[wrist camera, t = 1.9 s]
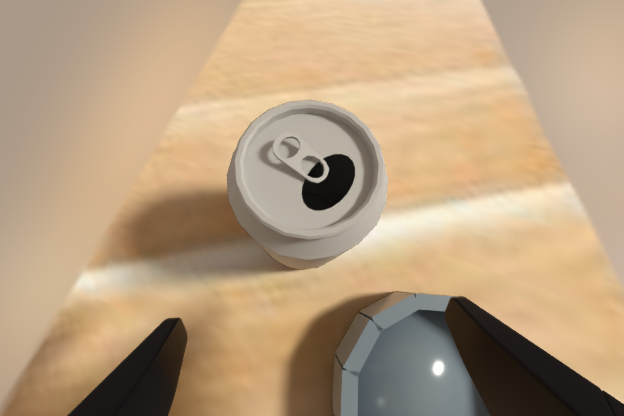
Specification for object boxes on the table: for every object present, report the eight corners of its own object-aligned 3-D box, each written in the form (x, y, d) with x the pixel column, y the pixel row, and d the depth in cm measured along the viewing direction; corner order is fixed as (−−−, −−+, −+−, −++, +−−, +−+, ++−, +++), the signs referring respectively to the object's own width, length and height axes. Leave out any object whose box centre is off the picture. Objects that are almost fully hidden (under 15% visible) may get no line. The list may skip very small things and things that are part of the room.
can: (312, 289, 20) (333, 300, 8) (241, 233, 21) (172, 176, 9) (363, 217, 22) (435, 146, 10) (295, 169, 23) (293, 56, 11)
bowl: (463, 547, 16) (507, 617, 13) (297, 416, 18) (297, 448, 14) (530, 357, 19) (579, 373, 16) (387, 260, 21) (404, 257, 18)
